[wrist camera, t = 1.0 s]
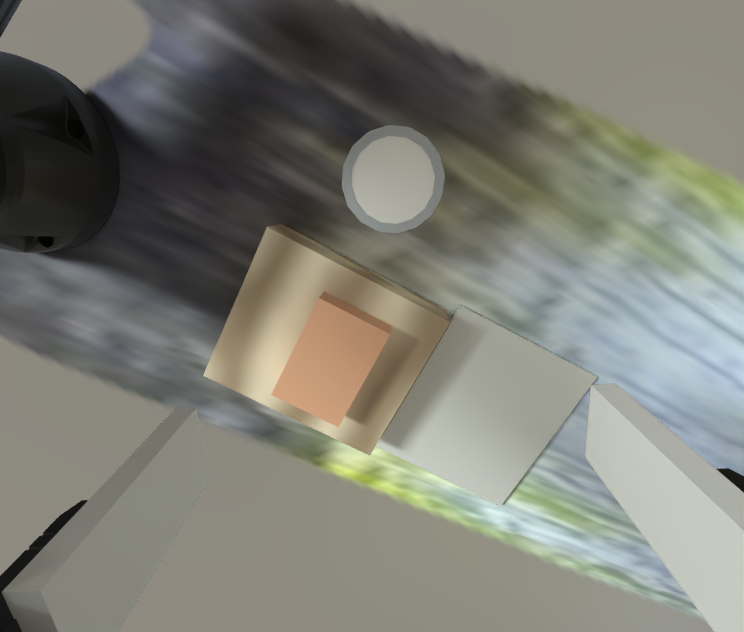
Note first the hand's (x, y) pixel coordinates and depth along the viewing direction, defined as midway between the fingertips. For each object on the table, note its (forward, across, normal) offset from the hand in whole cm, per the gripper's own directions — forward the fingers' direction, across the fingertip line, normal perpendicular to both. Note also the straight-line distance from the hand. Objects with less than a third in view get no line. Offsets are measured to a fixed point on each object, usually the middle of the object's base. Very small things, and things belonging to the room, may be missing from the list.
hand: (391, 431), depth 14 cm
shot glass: (+24, +1, +8) cm, 25 cm away
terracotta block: (+19, -5, -5) cm, 21 cm away
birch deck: (+23, -6, -5) cm, 24 cm away
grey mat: (+23, +8, -13) cm, 27 cm away
